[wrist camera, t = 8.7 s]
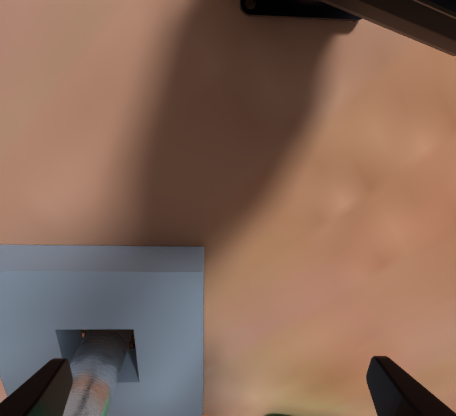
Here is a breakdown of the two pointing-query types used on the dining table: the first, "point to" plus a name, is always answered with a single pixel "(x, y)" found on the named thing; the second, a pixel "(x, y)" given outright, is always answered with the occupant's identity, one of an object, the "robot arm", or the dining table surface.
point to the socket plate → (108, 318)
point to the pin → (96, 371)
